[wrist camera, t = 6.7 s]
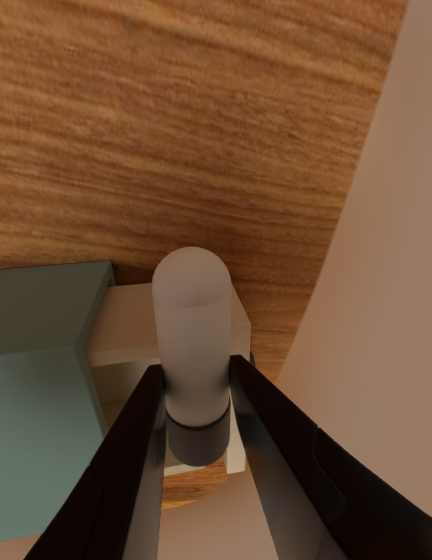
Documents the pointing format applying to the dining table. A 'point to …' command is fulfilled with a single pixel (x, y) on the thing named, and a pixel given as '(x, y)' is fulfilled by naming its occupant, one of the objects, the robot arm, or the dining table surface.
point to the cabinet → (46, 389)
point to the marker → (194, 352)
